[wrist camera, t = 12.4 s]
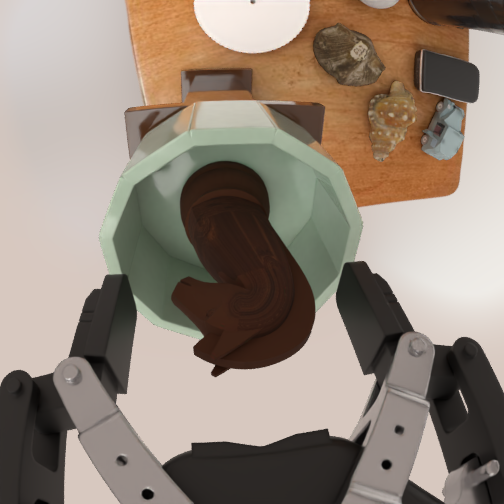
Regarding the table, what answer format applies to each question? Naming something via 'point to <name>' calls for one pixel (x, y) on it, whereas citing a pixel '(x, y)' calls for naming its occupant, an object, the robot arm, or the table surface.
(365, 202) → the table surface
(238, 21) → the plastic lid
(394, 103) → the seashell
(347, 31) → the fossilized seashell
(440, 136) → the toy car
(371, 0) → the light bulb
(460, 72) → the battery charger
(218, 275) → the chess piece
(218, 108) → the green pedestal cup
